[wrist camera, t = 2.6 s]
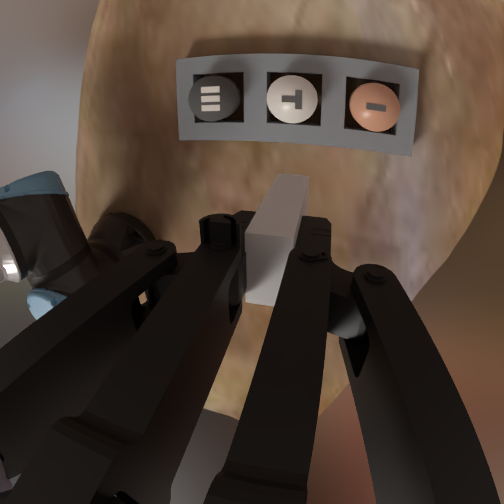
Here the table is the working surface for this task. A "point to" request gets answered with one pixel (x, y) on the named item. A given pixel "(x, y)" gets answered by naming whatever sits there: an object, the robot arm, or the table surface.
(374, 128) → the button terracotta
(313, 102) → the button white
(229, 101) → the button black
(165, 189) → the table surface
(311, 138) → the panel
